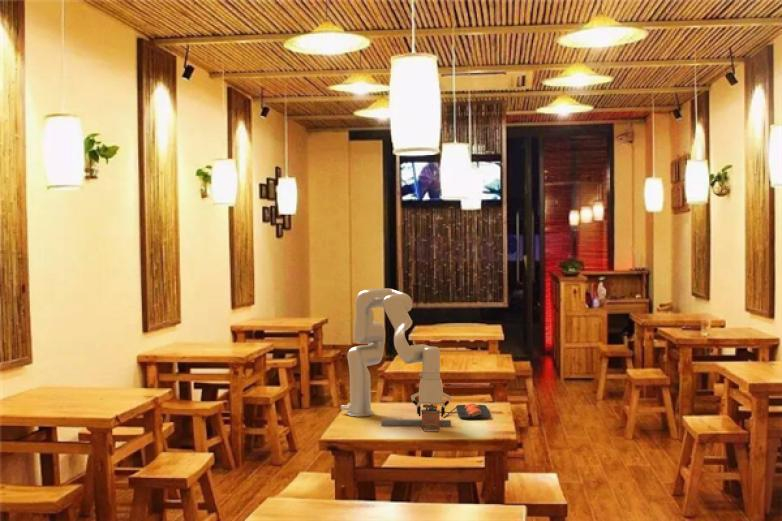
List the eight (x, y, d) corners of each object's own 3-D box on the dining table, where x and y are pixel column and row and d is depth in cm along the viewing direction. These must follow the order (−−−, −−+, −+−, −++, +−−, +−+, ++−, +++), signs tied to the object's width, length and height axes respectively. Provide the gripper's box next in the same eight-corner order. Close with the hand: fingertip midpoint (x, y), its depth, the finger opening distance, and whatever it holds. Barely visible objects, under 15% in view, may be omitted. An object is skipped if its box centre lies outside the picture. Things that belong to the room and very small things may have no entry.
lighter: (440, 427, 365) (440, 404, 364) (438, 429, 361) (438, 405, 361) (422, 426, 367) (422, 403, 367) (420, 428, 364) (420, 404, 364)
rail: (381, 425, 371) (381, 418, 371) (381, 424, 374) (381, 417, 374) (450, 426, 369) (450, 419, 369) (450, 425, 371) (450, 418, 371)
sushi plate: (491, 421, 381) (491, 412, 381) (424, 421, 382) (424, 413, 382) (485, 408, 410) (485, 400, 410) (423, 408, 411) (423, 400, 411)
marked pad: (423, 431, 359) (423, 430, 359) (425, 426, 370) (425, 424, 370) (438, 431, 358) (438, 430, 358) (439, 426, 369) (439, 425, 369)
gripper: (410, 377, 361) (409, 417, 361) (451, 377, 359) (451, 418, 360) (411, 374, 368) (411, 413, 369) (451, 374, 367) (451, 414, 367)
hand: (430, 416), depth 364 cm, fingers open, 9 cm apart
